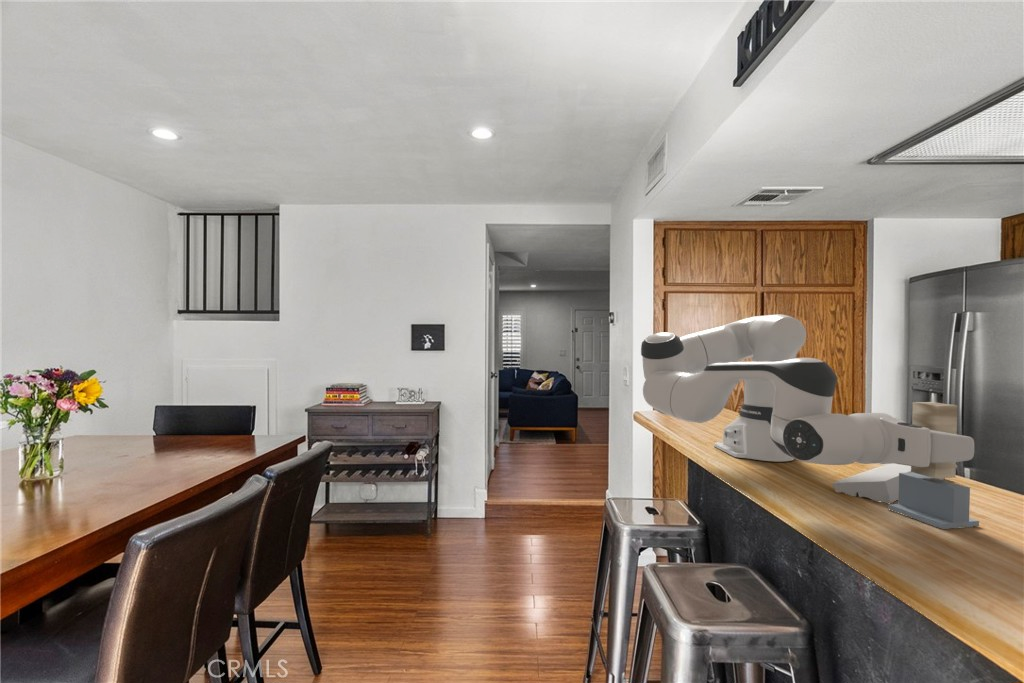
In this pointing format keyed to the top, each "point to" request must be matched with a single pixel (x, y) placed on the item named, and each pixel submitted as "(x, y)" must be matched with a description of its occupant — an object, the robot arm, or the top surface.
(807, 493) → the top surface
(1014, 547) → the top surface
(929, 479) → the ridge block
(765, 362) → the robot arm
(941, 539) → the top surface
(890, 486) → the decorative molding
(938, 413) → the ash post
